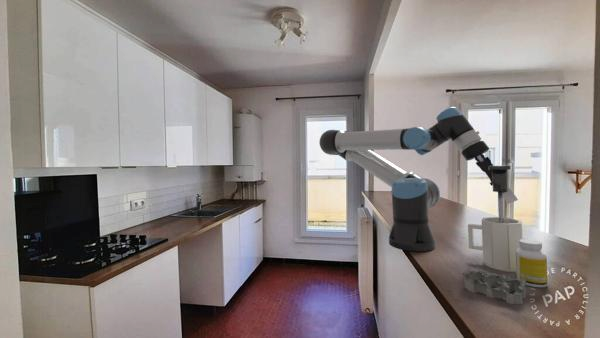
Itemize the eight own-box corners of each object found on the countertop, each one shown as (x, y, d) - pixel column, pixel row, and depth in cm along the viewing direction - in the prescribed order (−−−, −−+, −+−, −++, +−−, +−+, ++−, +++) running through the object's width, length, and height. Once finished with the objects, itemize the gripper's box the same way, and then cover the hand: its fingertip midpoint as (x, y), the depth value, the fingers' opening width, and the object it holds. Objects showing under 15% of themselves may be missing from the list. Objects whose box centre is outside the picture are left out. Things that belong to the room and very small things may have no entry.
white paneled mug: (466, 263, 72) (464, 220, 72) (472, 255, 78) (471, 215, 78) (522, 275, 63) (520, 225, 63) (524, 264, 70) (522, 219, 69)
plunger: (486, 240, 69) (483, 166, 69) (490, 235, 74) (487, 165, 73) (515, 244, 65) (512, 165, 65) (517, 239, 69) (514, 165, 69)
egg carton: (460, 290, 58) (459, 272, 58) (472, 280, 63) (471, 263, 63) (520, 309, 50) (519, 288, 50) (529, 295, 54) (528, 276, 54)
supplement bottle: (554, 289, 56) (552, 245, 56) (525, 287, 57) (523, 244, 57) (537, 278, 61) (535, 238, 61) (511, 277, 63) (510, 237, 63)
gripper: (479, 134, 76) (528, 196, 69) (485, 144, 96) (524, 193, 88) (454, 148, 80) (498, 208, 73) (464, 155, 100) (500, 203, 92)
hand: (512, 200), depth 80 cm, fingers open, 13 cm apart
